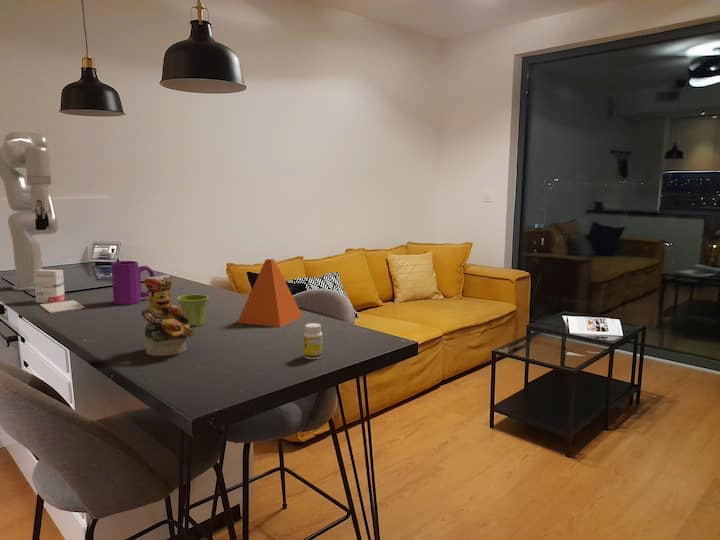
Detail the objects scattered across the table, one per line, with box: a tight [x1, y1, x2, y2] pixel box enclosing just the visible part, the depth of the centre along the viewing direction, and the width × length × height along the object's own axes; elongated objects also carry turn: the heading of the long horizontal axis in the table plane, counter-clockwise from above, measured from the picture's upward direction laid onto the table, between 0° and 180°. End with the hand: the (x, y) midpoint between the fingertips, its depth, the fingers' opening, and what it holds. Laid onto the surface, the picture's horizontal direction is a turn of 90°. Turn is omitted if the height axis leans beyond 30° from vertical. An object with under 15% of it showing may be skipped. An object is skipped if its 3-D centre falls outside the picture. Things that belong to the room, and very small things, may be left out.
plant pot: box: [176, 293, 209, 327], centre depth 166 cm, size 9×9×9 cm
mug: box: [110, 260, 156, 306], centre depth 197 cm, size 9×16×15 cm, turn 133°
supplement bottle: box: [303, 322, 323, 360], centre depth 135 cm, size 5×5×8 cm
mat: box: [39, 299, 86, 314], centre depth 188 cm, size 15×11×1 cm
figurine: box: [140, 274, 194, 357], centre depth 138 cm, size 12×15×20 cm
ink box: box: [34, 269, 66, 304], centre depth 195 cm, size 9×5×12 cm, turn 84°
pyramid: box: [237, 258, 303, 328], centre depth 172 cm, size 16×16×20 cm
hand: (42, 228), depth 194 cm, fingers open, 9 cm apart
